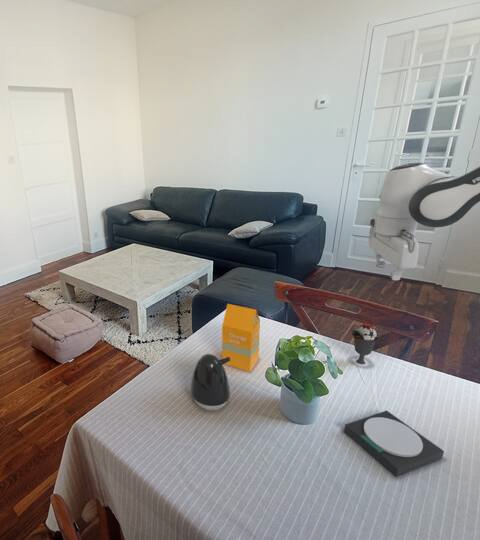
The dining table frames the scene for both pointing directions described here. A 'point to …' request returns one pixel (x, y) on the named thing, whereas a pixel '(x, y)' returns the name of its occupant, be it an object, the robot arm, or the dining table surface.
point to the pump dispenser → (210, 383)
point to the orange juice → (241, 336)
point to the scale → (393, 443)
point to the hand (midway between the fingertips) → (387, 272)
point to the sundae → (364, 340)
